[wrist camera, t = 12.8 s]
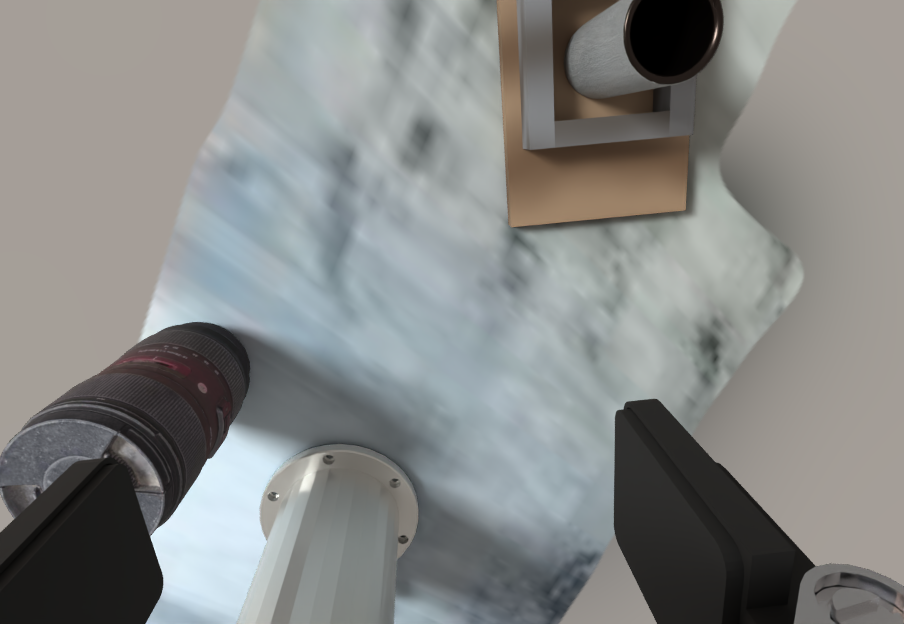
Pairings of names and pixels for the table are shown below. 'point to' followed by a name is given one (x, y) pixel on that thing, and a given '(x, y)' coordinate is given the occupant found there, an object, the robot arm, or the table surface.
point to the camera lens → (138, 420)
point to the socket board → (583, 127)
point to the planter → (643, 46)
